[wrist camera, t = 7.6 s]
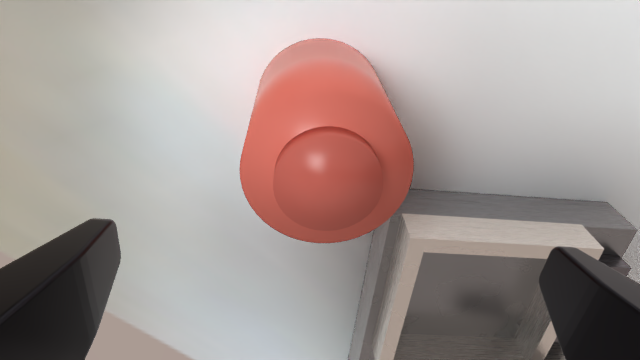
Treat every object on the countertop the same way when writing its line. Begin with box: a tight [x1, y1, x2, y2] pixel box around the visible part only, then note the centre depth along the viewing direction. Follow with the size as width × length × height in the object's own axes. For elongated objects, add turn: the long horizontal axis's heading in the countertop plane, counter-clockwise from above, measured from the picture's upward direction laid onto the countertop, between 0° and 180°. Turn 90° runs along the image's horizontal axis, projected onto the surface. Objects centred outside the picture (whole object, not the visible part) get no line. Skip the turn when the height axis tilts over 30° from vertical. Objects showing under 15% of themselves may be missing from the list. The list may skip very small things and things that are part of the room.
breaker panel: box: [348, 189, 637, 360], centre depth 21 cm, size 10×13×4 cm
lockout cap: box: [240, 38, 414, 243], centre depth 14 cm, size 5×5×6 cm
